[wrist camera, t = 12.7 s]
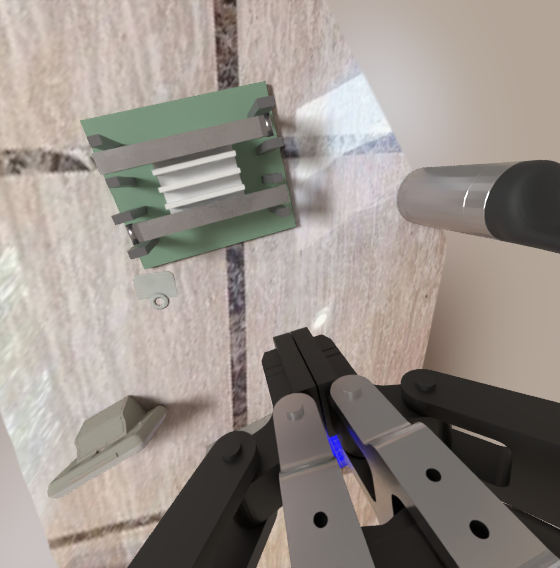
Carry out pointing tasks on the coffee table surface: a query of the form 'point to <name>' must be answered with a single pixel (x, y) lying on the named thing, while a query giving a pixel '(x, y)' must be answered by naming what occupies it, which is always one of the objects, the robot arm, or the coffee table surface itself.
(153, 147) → the strap
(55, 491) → the digital clock
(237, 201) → the strap
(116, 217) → the heatsink board
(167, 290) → the key tag
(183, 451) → the coffee table surface
